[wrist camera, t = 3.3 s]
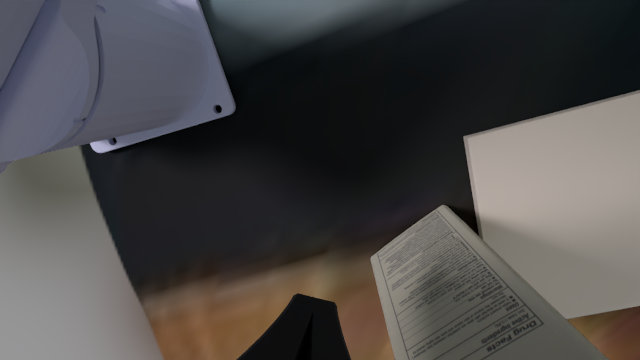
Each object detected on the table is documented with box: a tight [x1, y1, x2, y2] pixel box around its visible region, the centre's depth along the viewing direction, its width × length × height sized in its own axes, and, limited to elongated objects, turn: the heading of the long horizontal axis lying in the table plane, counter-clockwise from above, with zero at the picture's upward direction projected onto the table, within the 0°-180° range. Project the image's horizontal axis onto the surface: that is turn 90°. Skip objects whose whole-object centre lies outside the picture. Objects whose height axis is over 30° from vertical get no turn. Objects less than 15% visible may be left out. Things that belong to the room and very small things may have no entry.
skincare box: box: [371, 205, 609, 360], centre depth 15 cm, size 6×4×12 cm
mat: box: [463, 90, 640, 319], centre depth 19 cm, size 12×14×1 cm
